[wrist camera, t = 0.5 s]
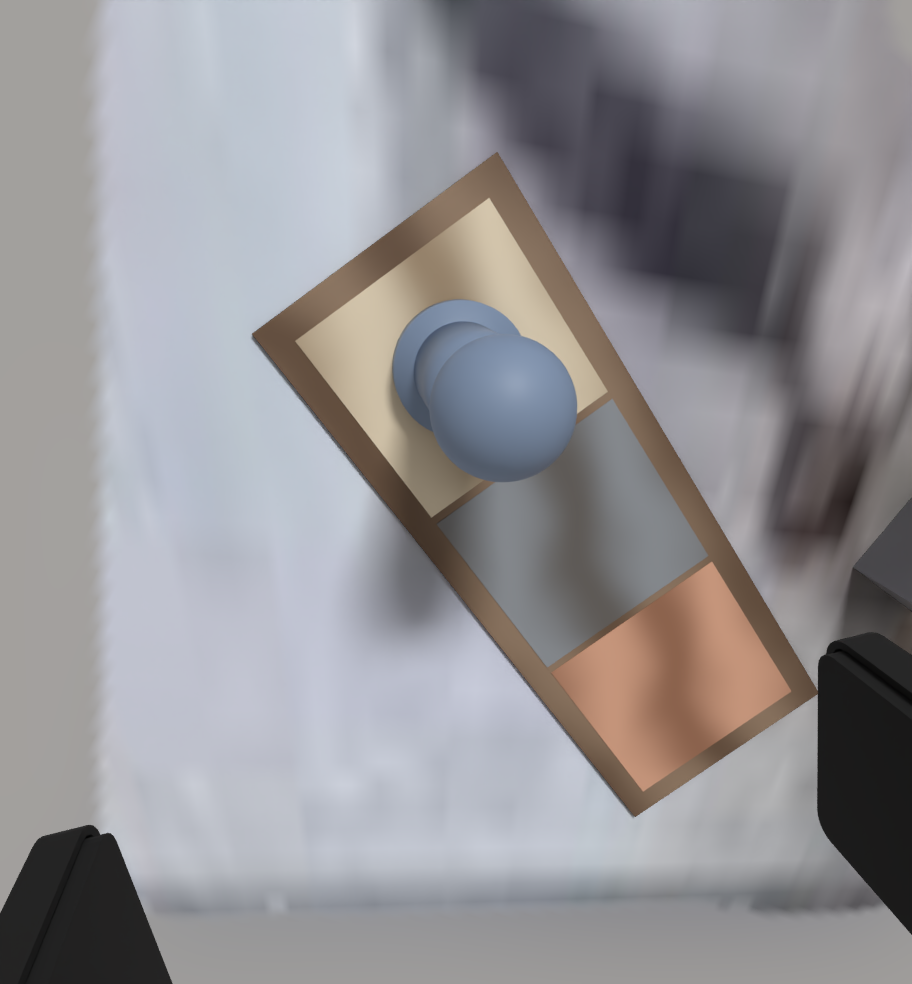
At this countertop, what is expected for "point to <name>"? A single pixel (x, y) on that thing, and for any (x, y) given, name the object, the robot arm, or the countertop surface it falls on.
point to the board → (551, 501)
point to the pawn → (484, 390)
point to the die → (892, 558)
